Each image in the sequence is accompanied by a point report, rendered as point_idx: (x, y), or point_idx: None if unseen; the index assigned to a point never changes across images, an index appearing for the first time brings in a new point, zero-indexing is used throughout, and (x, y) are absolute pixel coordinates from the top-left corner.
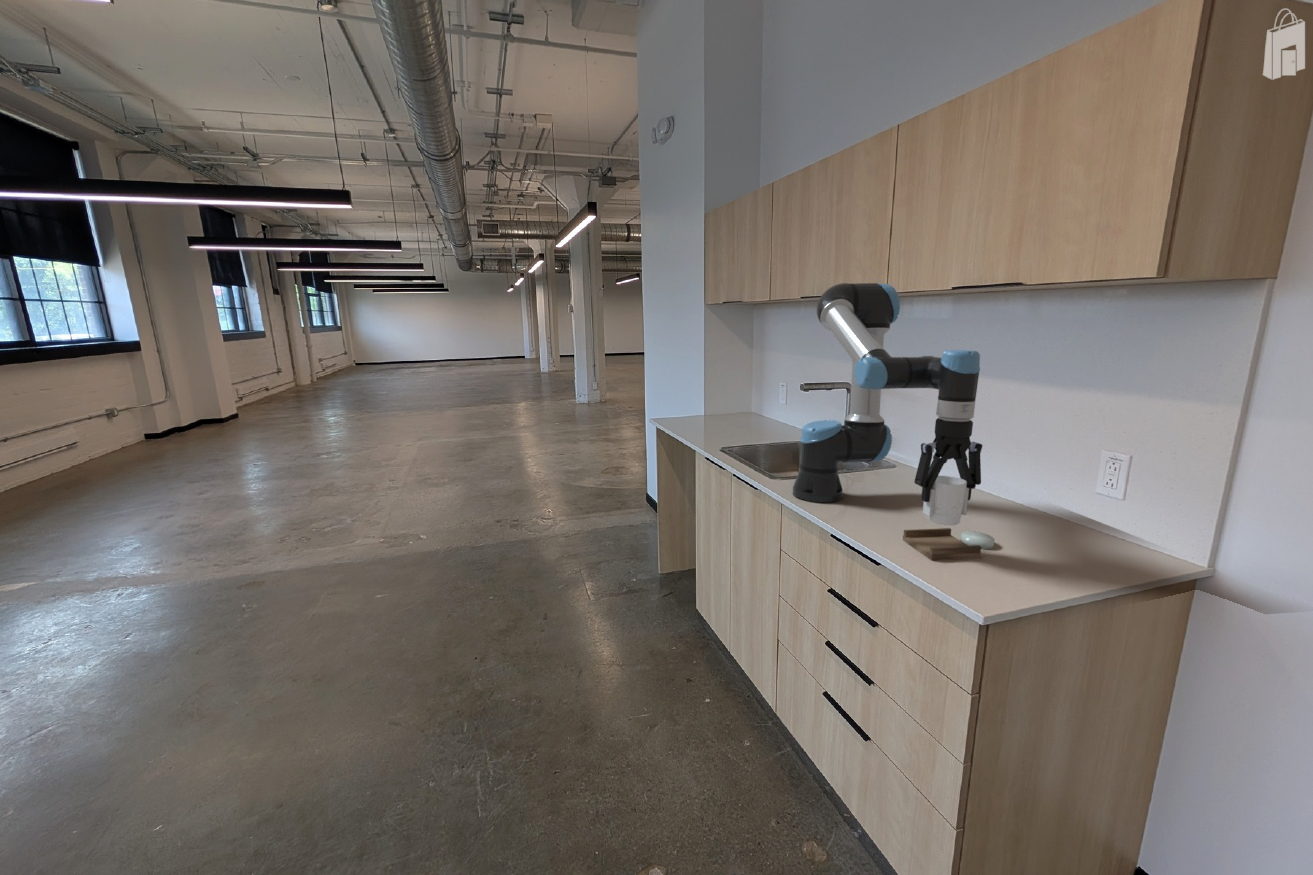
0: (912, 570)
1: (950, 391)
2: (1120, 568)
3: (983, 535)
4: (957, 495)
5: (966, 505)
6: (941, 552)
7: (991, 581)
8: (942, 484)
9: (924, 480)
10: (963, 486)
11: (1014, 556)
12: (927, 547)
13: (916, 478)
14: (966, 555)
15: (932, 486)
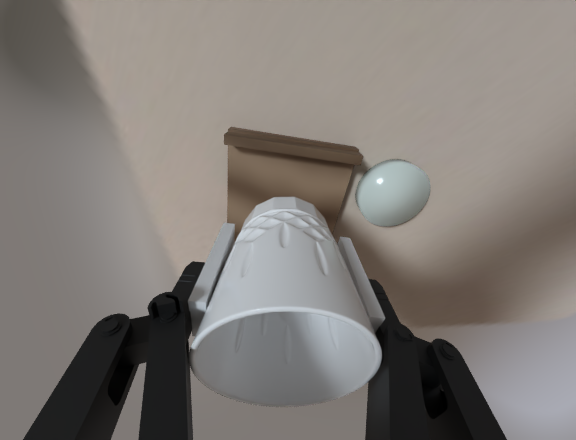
0: (172, 253)
1: None
2: (477, 304)
3: (415, 194)
4: (276, 353)
5: None
6: None
7: None
8: (215, 385)
9: (118, 386)
10: (301, 393)
11: (388, 251)
12: (242, 207)
13: (82, 358)
14: None
15: (188, 349)
